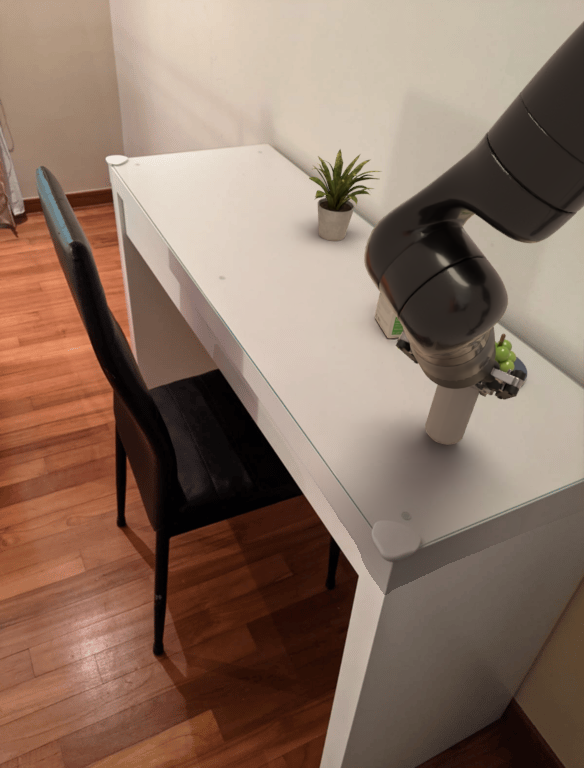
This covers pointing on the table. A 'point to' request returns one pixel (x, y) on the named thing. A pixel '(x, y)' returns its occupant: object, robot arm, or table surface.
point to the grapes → (508, 357)
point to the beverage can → (450, 414)
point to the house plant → (338, 197)
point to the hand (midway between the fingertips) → (464, 378)
